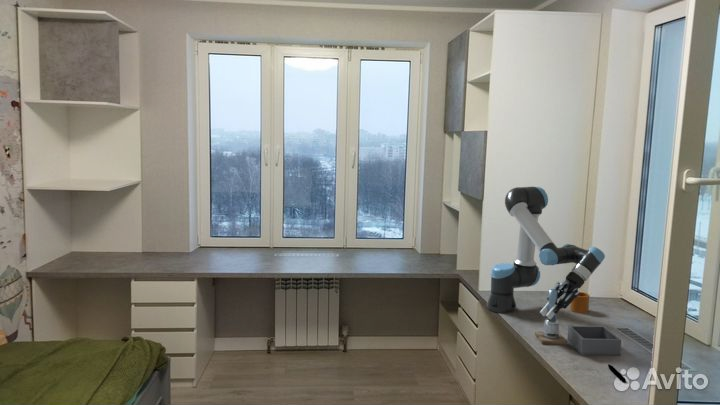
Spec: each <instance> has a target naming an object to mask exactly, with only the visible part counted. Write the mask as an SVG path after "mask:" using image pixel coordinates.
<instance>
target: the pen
mask: <svg viewBox="0 0 720 405" xmlns="http://www.w3.org/2000/svg"><path fill="white" fill-rule="evenodd" d="M607 366H608V367H607V368H608V369H609V370H610V372H611V373H612V374H613V375H614V376H615V377H616V378H617V379H618V380H619V381H620V382H622V383H625V384H626V383H627V381H626V380H627V379H626V377H624V376H623V374H622V373H620V372H619V371H618V370H617V368H615V367H614V366H613V365H611V364H610V363H608V364H607Z"/></svg>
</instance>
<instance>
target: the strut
mask: <svg viewBox="0 0 720 405" xmlns="http://www.w3.org/2000/svg"><path fill="white" fill-rule="evenodd" d="M548 291H549V292H548V295H549V305H548V312H549V311H550V310H551V309H552V307H553V306H554V305H555V304H556V303H558V300H559V299H558V290H556V289H553V288H550V289H549V290H548ZM556 305H557V304H556ZM548 312H547V313H548ZM557 313H558V312H557ZM557 313H555V315H554V316H553V317H552V318H551V319H549V318H548V317H547V318H545V319H544V322H543V325H544V326H543V332H546V333H550V334H557V333H559V332H560V323H559V320H558V319H557Z"/></svg>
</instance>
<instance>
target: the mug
mask: <svg viewBox="0 0 720 405" xmlns="http://www.w3.org/2000/svg"><path fill="white" fill-rule="evenodd" d="M579 292H580V295H578V296H577V297H576V298H575V299H574V300H573V301H572V302H571V303H570V304H569V306H570V310H569V311H571V312H573V313H576V314H588V313H589V307H590V294H589V293H587V292H583V291H579Z"/></svg>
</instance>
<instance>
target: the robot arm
mask: <svg viewBox="0 0 720 405" xmlns="http://www.w3.org/2000/svg"><path fill="white" fill-rule="evenodd" d="M548 203H549V197H548V194H547V192H546V190H545V189H544V188H542V187H540V186H523V187H521V186H517V187H513V188H511V189H510V190H509V191H508V192H507V193H506V195H505V198H504V206H505V208H506V210H507V212H508V214H509V215H510V216H511V217H514V218H515V220H516V221H517V222H518V224H519V233H518V234H519V235H518V246H517V255H516V256H517V257H516V258H515V259H514V260H513V264H512V263H507V262H505V263H498V264H495V265H493V266H492V268H491V274H490V275H491V276H490V278H491V279H490V294H489V296H488V300H487V302H486V308H487V309H488V310H489V311H491V312H493V313H499V314H510V313H511V314H512V313H514V312H516V311H517V302H516V300H515V295H514V293H515V292H514V291H515V289H519V288H528V287H533V286H535V285H536V284H538V282H539V281H540V278H541V271H540V268H539V266H538V265H537V262H536V261H535V251H536V249H537V250H538V251H539V253H538V258H539V261H540V263H541V264H543V265H544V266H555V265H563V264H564V265H565V264H575V265H574V266H573V268H572V269H571V270H570V272H569V273H567V275H566V276H565V280H563V281H562V282H559V281H557V282H556V283H555V286H554V287H553V288H552V289H556V290H558V299H557V300H559V301H557V303H556V304H557V305H556V304H555V305H554V306H553V307H552V309H551V310H550V311H549V312H548V305H549V294H548V295H547V296H546V297H545V298H546V300H547V302H546V303H545V304H544V305H543V307H542V309H541V310H540V311H539V313H540V314H541V315H542V317H547V318H549V319H551V318H552V317H553V316H554V315H555V313H558V312H560V310H561V309H567V308H568V306H570V305H571V304H570V303H571V302H572V301H573V300H574V299H575V298H576V297H577V296H578V295H580V292H581V291H579V290H578V289H581V288H582V287H583V285H584V284H585V283H586V281H587V280H588V279H589V278H590V277H591V276H592V275H593V273H594V272H595V271H596V269H597V268H598V267H599V266H600V265H601V264H602V263H603V261H604V260H605V257H606V256H605V253H604V252H603V251H602V250H601V249H600V248H598V247H595V246H591V247H590V248H589V249H586V248H585V249H584V248H581V247H580V246H577V245H574V244H570V243H566V244H564V245H563V246H562V247H557V245H556V244H555V243H554V241H553V240H552V239H551V238H550V236H549V234H548V233H547V232H546V231H545V230H544V228H543V227H542V226H541V224H540V223H539V217H540V216H541V215H542V213H543V209H545V208H546V207H547V206H548Z"/></svg>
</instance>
